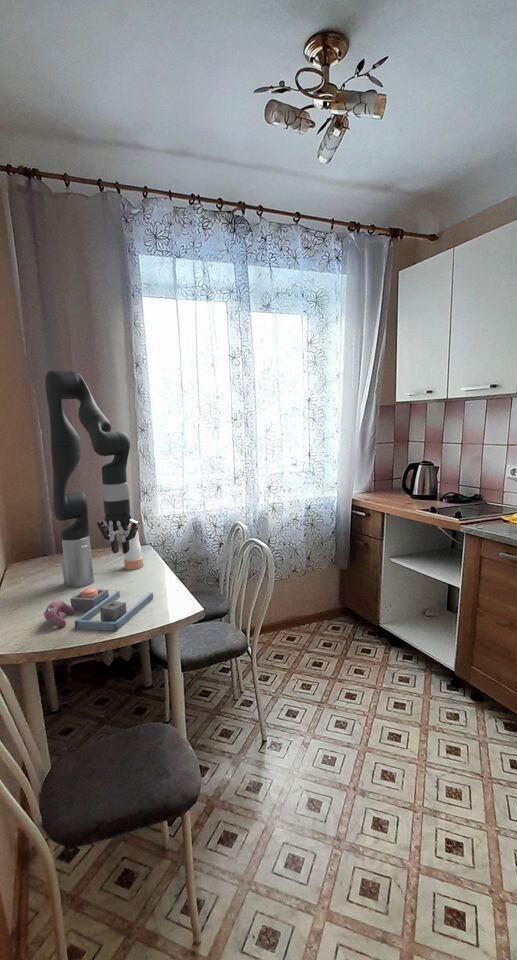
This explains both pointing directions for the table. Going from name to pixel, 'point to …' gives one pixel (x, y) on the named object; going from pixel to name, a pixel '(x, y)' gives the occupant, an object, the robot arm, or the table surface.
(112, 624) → the track
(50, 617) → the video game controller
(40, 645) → the table surface
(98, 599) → the button housing
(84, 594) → the button
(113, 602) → the gray cube
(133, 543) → the pepper shaker
